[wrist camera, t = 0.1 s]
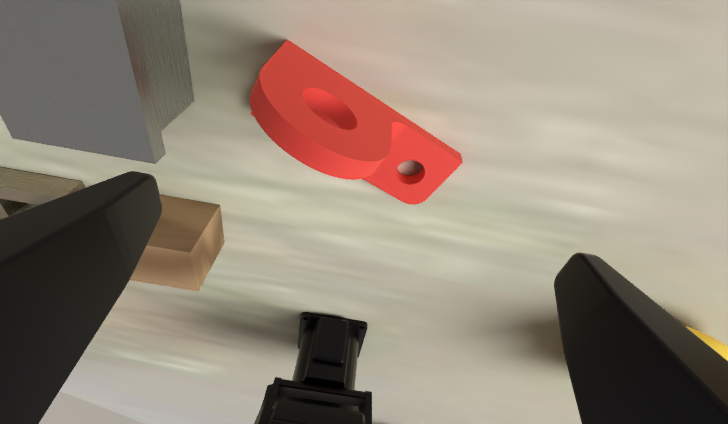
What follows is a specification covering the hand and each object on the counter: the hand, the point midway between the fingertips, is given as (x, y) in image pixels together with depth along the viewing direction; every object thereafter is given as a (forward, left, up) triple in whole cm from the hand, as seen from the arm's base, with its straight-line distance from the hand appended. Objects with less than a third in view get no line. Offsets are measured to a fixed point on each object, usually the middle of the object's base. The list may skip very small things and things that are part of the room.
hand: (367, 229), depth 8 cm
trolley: (-1, +14, -14) cm, 20 cm away
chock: (-15, +13, -14) cm, 25 cm away
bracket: (-5, +1, -15) cm, 16 cm away
